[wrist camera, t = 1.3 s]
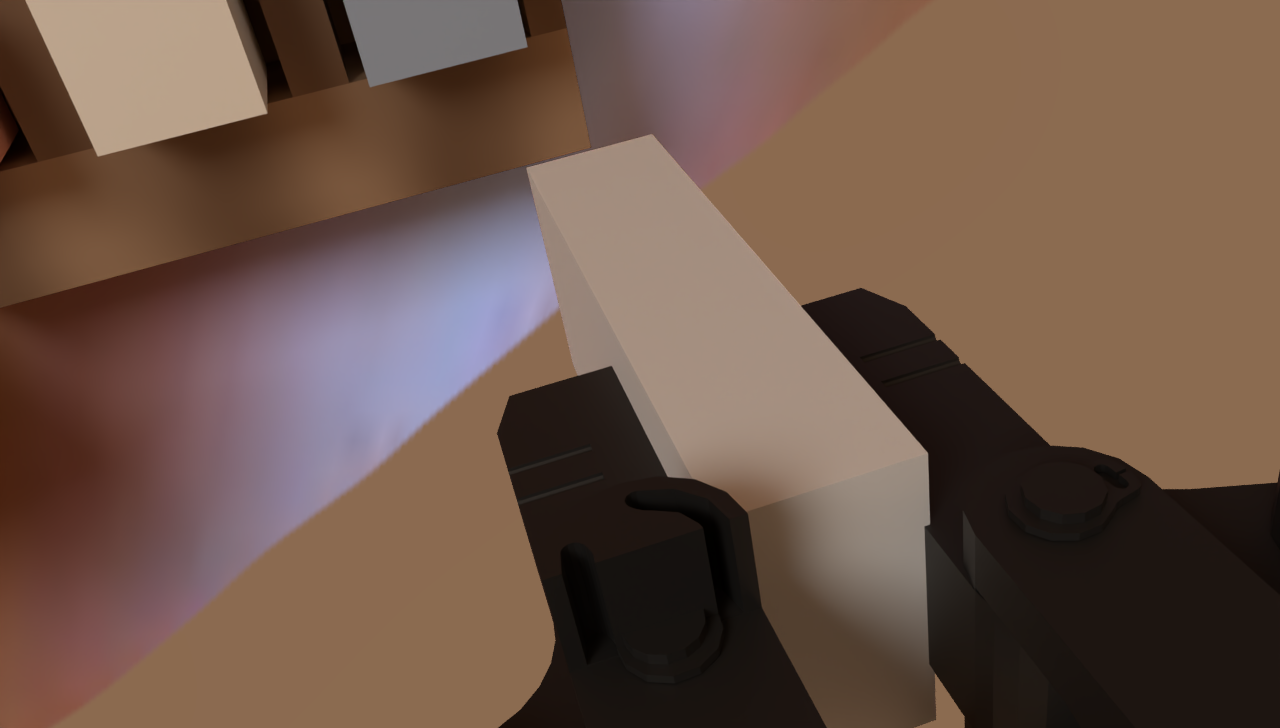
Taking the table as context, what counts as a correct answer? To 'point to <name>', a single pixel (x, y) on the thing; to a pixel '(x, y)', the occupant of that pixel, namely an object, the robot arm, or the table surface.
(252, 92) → the ivory key
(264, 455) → the table surface
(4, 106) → the brick key
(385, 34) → the slate key
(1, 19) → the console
